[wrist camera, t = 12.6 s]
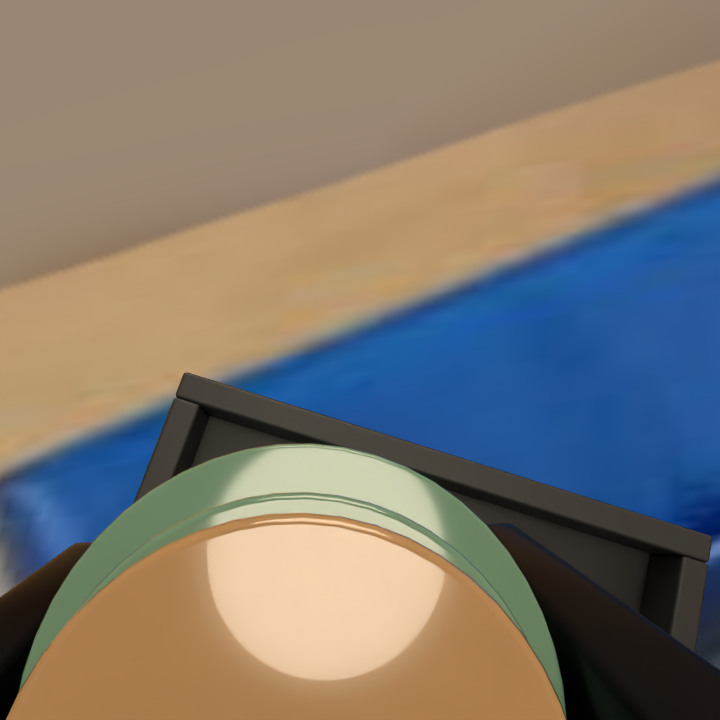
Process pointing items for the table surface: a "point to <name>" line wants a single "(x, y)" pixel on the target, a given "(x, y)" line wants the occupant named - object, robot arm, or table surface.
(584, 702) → the robot arm
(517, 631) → the jar
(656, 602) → the baking tray
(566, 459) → the table surface
